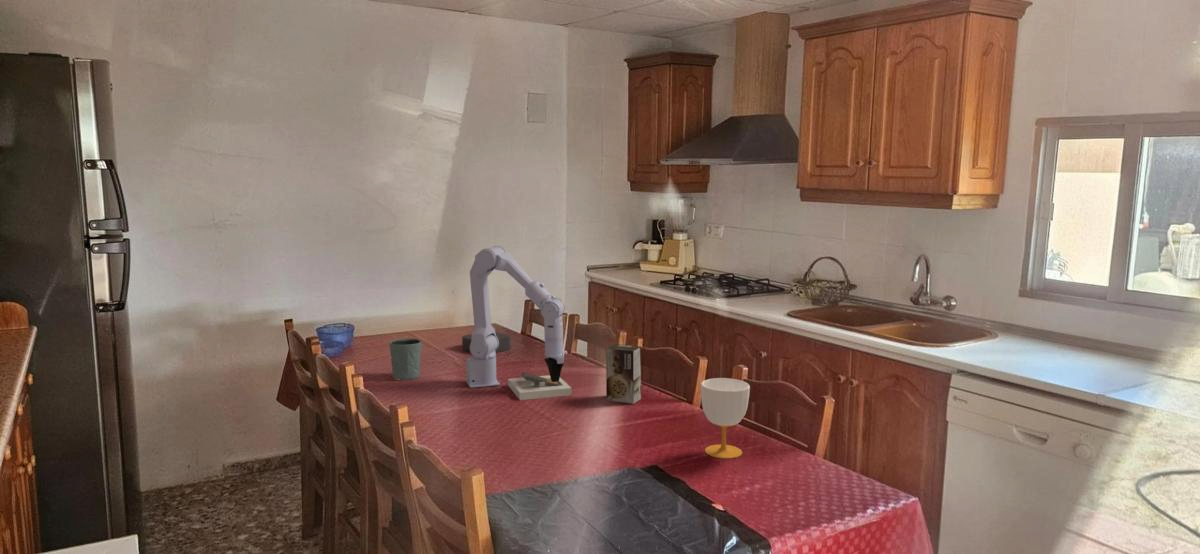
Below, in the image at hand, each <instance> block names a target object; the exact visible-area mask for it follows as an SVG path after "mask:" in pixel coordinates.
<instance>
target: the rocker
mask: <svg viewBox="0 0 1200 554" xmlns="http://www.w3.org/2000/svg"><path fill="white" fill-rule="evenodd" d="M520 376H521V378H524V379H525V380H528V381H532V382H535V383H539V382H545V385H546V386H550V387H551V386H559V385H558V384H557V383H556V382H552V381H551V380H550V379H547V378H543V377H539V376H540V375H535V374H532V373H527V372H525V371H522V372H521V374H520Z"/></svg>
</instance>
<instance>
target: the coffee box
mask: <svg viewBox="0 0 1200 554" xmlns="http://www.w3.org/2000/svg"><path fill="white" fill-rule="evenodd" d="M605 359H606V360H605V361H606V363H605V364H606V365H605V366H606V367H605V372H606V373H605V375H606V376H605V377H606V379H605V381H606V385H605V387H606V390H605V393H606V396H605V397H606V399H605V400H606V401H609V402H617V403H624V404H631V405H632V404H633V405H634V404H636V403H637V402H638V401H640V400H641V399H642V346H640V345H639V346H638V345H632V344H631V345H629V344H619V343H613V344H611V345H610V346H608V347H606V348H605Z"/></svg>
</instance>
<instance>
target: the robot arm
mask: <svg viewBox="0 0 1200 554" xmlns="http://www.w3.org/2000/svg"><path fill="white" fill-rule="evenodd" d="M494 270H496V271H501V272H506V273H507V274H509V275H510V277H512V278H513V279H514V280H515V281H516V282H517V283H518V284H519V285H521V287H522V288H523V289H524V291H525V292H524V293H525V295H526V297H527V298H528V299H529V300H530V301H531V302H532V303H533V304H534V305H535V306H536V307H537V308H538V309H539V310H540V313H541V314H540V315H541V316H542V318H543V319H544V320H543V324H544V325H543V326H544V327H543V328H544V356H545V357H547V358H544V361H545V364H546V366H547V368H548V373H549V375H550V377H551V381H552V382H557V381H559V379H560V378H561V373H562V369H563V367H564V365H565V362H566V360H565V355H567V354H568V350H564V324H563V323H564V322H563V314H564V313H565V307H566V306H565V304H564V302H563V301H562V299H560V298H558V297H557V298H556V296H555V295H554V294H552V293H551V292H549V290H548V289H547V288H546V285H545V284H544V283H543V282H540V281H534V280H532V278H530V276H529V275H528V274H527V273H526V272H525V270H524V269H523V268H522V267H521V266H520V265H519V263H517V262H516V261H515V259H514V258H513V256H512V255H511V253H509V252H508V251H506V249H505V248H504V247H502V246H500V245H494V246H492V247H488V248H487V247H486V248H482V249H481V250H480V251H479V252H478V253H476V254H475V255H474V261H473V262H472V266H471V267H470V271H469V281H470V290H471V292H470V293H471V301H472V312H473V313H472V314H473V315H472V316H473V324H474V328H473V331H472V333H471V334H472V335H471V337H472V340H471V344H470V353H471V355H472V356H471V357H467V358H466V360H465V372H466V373H465V374H466V375H465V376H466V377H465V378H466V381H465V382H466V384H467V385H468V387H469V388H470V389H473V388H482V387H483V388H484V387H494V386H495V387H496V386H500V385H501V383H500V382H499V380H498V379H497V352H496V353H495V350H496V349H497V348H498V346H499V340H498V338H497V336H496V334H495V332H496V329H495V327H494V326H493V325H492V317H491V315H492V314H491V306H490V302H491V301H490V294H489V281H488V276H489V275H491V273H492V272H493V271H494Z"/></svg>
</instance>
